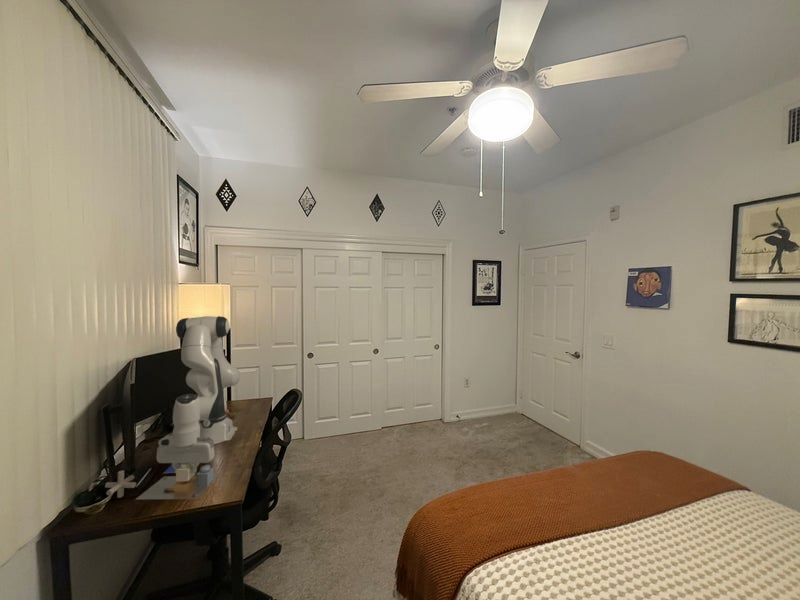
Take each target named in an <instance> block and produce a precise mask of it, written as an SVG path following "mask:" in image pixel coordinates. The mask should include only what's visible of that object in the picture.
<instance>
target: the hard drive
mask: <svg viewBox="0 0 800 600" xmlns="http://www.w3.org/2000/svg"><path fill="white" fill-rule="evenodd" d="M178 464H179V466H181V463H178ZM164 474H175V469H174V468H173V466H172V464H171V465H170V466H169V467H168V468H167V469H166V470H165V471H164V472H163V473H162V475H164Z"/></svg>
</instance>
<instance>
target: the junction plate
mask: <svg viewBox="0 0 800 600" xmlns="http://www.w3.org/2000/svg"><path fill="white" fill-rule="evenodd" d="M218 476H219V475H218ZM218 476H217V475H214V479H213V480H212V481H211V482H210V483H209V484H208V485H197V487H196V488H195V489H194V490H193V491H192V492H191V493H190V494H189V495H174V491H164V489H165V488H174V484H175V483H176V482H178V481H176V475H173V476H172V475H171V476H168V475H167V476H162V478H160V479H159V480H157V482H155V483H154V484H153V485H151V486H150V487H149V488H148V489H146V490H145V491H143V492H142V494H140V495H139V496H138V497H137V498H135V500H196V499H197V498H199V496H200V495H201V494H202V493H203V492H204V491H205V490H206V489H207V488H208V487H209V486H210V485H211V484H212V483H213V482H214V481H215V480H216V479H217V478H218ZM193 477H196V475H194V476H193Z"/></svg>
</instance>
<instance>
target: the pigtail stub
mask: <svg viewBox="0 0 800 600" xmlns="http://www.w3.org/2000/svg"><path fill="white" fill-rule="evenodd" d="M196 487H197V477H192V478H191V479H190V480H189V481H178V482H176V483H175V484H174V488H165V489H164V491H174V495H189V494H190V493H191V492H192V491H193V490H194V489H195V488H196Z"/></svg>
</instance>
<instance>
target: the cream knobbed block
mask: <svg viewBox="0 0 800 600" xmlns="http://www.w3.org/2000/svg"><path fill="white" fill-rule="evenodd" d="M194 466H195V465H193V463H181V466H180V467H179V468H178V469H177V470H176V474H175V476H176V481H189V480H190V479H191V478H192V477H193V476H196V473H195V474H190V469H192V468H193V467H194Z"/></svg>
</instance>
